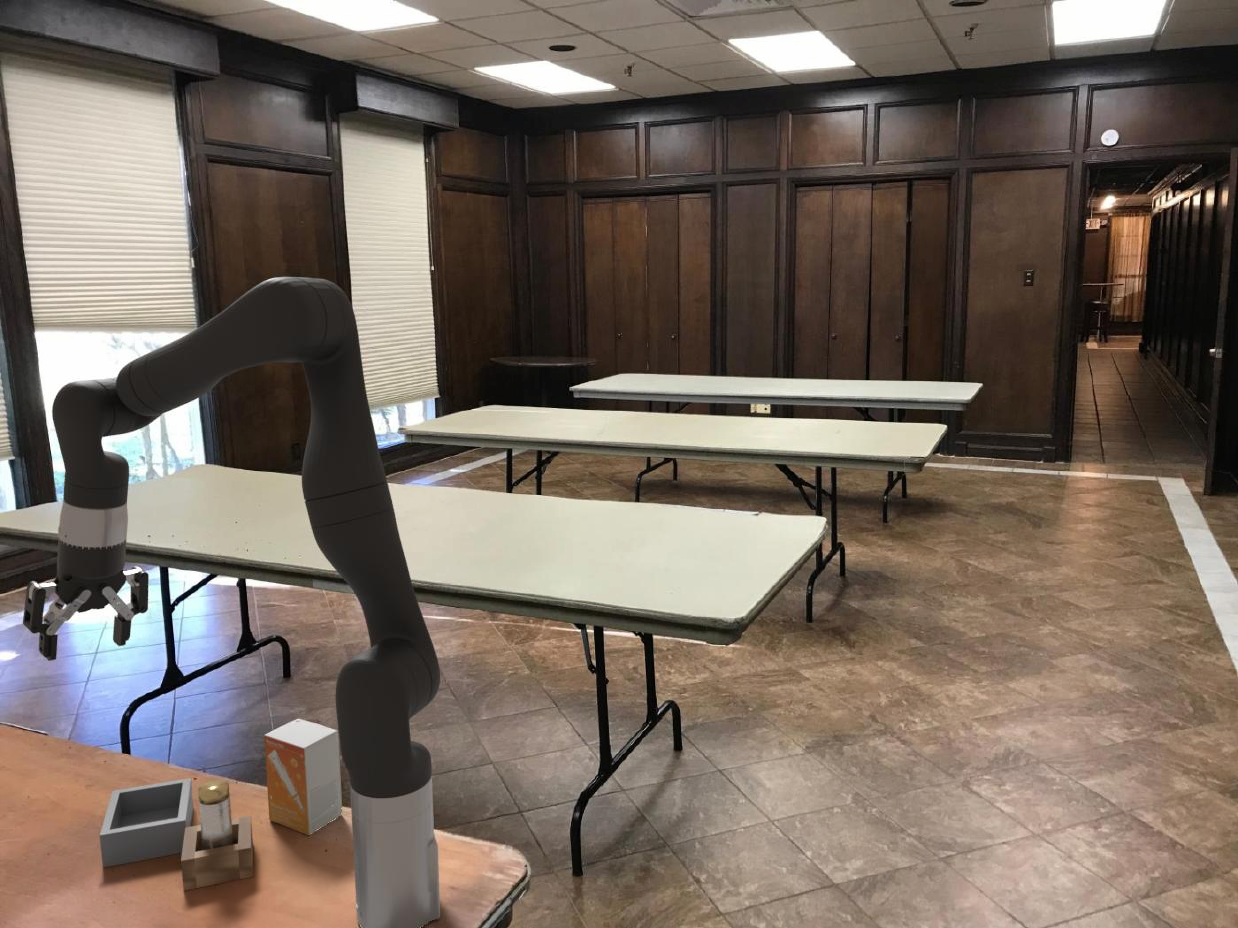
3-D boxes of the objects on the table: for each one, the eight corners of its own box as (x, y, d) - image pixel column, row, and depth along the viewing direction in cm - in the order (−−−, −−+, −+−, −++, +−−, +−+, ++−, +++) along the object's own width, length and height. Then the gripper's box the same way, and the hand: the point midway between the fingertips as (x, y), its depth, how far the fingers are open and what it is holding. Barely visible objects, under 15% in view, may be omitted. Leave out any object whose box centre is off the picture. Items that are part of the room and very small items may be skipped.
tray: (193, 806, 135) (191, 777, 135) (188, 851, 124) (185, 820, 123) (115, 820, 132) (112, 790, 131) (102, 867, 121) (99, 835, 120)
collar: (252, 843, 126) (250, 815, 125) (252, 876, 119) (250, 847, 118) (187, 855, 123) (185, 827, 123) (183, 890, 116) (181, 860, 115)
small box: (268, 821, 132) (262, 734, 129) (303, 800, 137) (298, 716, 135) (309, 837, 128) (304, 747, 125) (344, 815, 133) (339, 729, 131)
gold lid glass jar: (234, 855, 123) (229, 777, 122) (234, 870, 120) (228, 790, 118) (205, 861, 122) (198, 782, 120) (203, 876, 119) (197, 795, 117)
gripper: (43, 552, 111) (37, 676, 115) (164, 536, 122) (154, 650, 126) (18, 531, 115) (12, 651, 119) (136, 518, 126) (128, 628, 130)
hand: (85, 650), depth 122 cm, fingers open, 8 cm apart
